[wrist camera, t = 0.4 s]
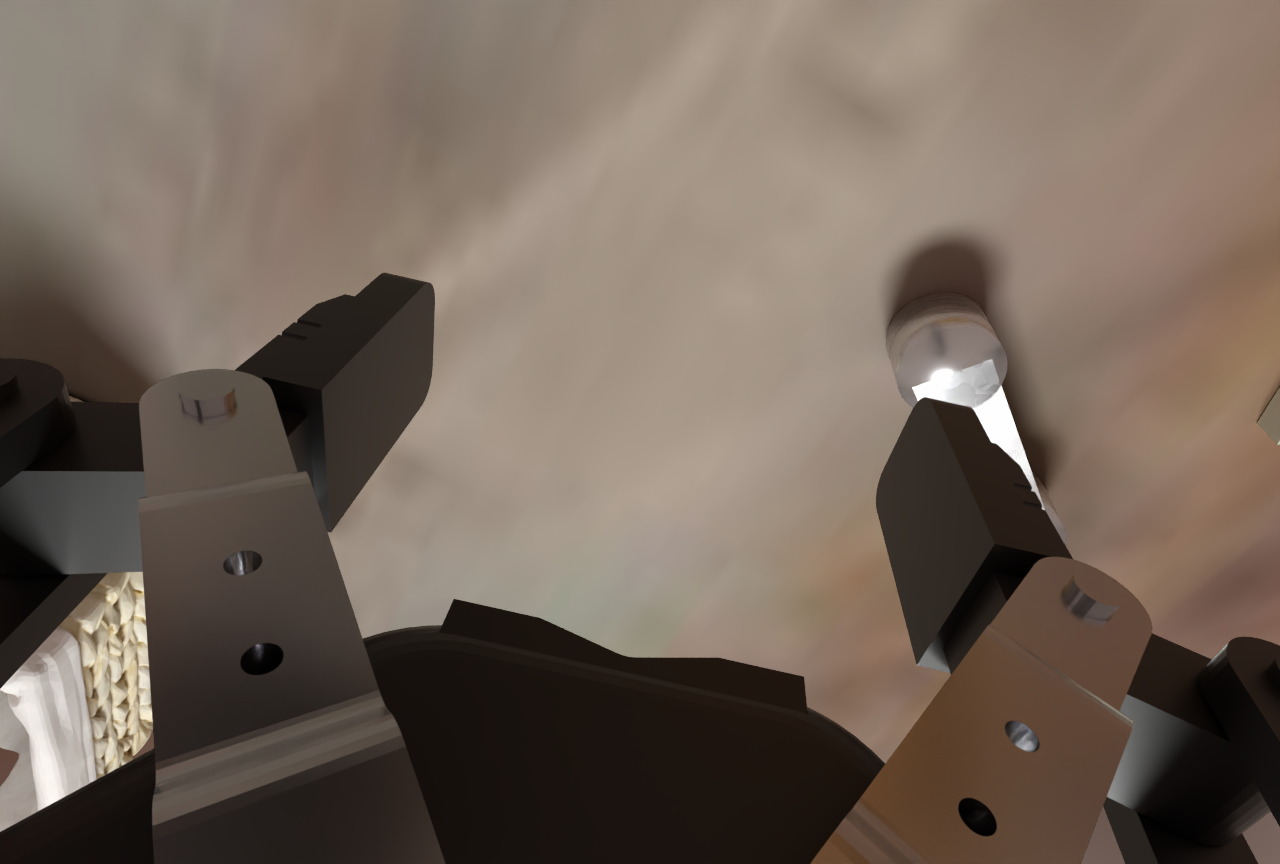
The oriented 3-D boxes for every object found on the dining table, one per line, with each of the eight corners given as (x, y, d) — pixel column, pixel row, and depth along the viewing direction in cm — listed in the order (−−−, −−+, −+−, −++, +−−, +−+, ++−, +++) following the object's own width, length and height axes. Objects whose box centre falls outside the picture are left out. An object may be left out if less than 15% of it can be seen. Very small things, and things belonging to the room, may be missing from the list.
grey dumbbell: (871, 316, 30) (882, 353, 28) (971, 275, 28) (991, 310, 26) (968, 536, 37) (983, 582, 34) (1053, 513, 35) (1075, 559, 33)
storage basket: (216, 666, 53) (66, 885, 41) (-14, 585, 50) (-244, 794, 39) (249, 446, 39) (34, 683, 27) (-68, 317, 36) (-456, 520, 25)
